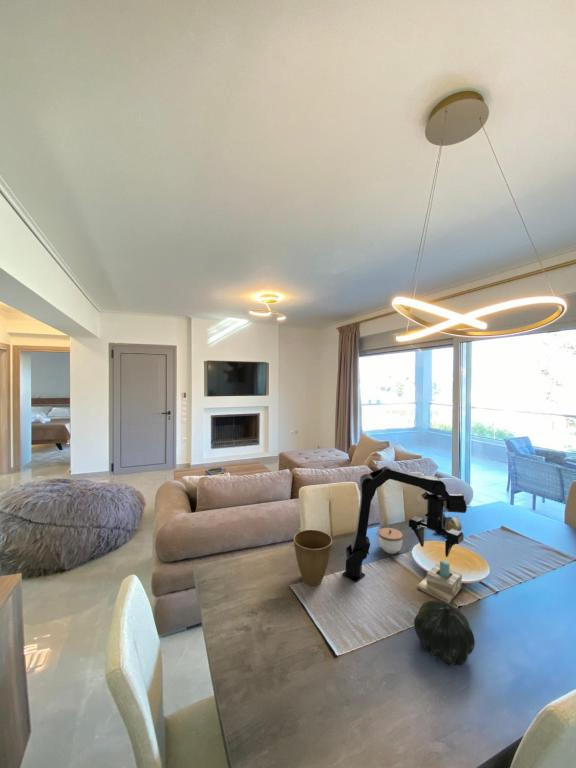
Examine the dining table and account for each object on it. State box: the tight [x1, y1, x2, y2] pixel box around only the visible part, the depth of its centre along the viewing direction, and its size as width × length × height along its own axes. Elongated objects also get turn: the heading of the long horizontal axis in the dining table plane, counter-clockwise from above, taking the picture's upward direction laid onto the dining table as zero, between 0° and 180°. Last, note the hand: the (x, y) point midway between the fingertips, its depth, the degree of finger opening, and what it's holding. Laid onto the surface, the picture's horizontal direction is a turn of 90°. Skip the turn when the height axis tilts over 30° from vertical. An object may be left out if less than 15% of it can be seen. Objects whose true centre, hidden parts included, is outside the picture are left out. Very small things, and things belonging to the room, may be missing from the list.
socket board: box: [416, 564, 463, 604], centre depth 115 cm, size 12×11×5 cm
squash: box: [413, 600, 476, 667], centre depth 88 cm, size 14×15×15 cm
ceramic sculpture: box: [443, 516, 463, 532], centre depth 157 cm, size 11×9×15 cm
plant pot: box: [293, 529, 333, 586], centre depth 120 cm, size 15×15×16 cm
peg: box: [439, 560, 451, 579], centre depth 116 cm, size 3×3×8 cm
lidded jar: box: [377, 527, 404, 555], centre depth 142 cm, size 11×11×9 cm
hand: (434, 551), depth 119 cm, fingers open, 9 cm apart
